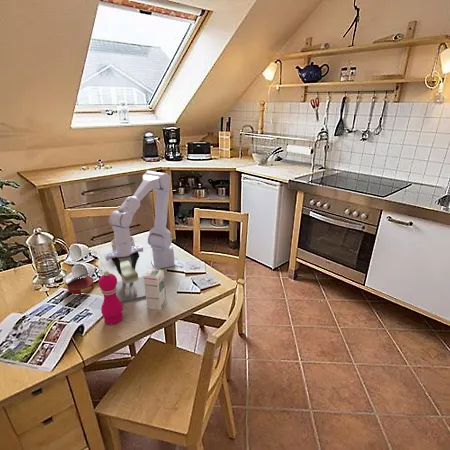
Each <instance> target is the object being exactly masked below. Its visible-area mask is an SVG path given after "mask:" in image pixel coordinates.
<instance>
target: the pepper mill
mask: <svg viewBox="0 0 450 450" xmlns="http://www.w3.org/2000/svg"><path fill="white" fill-rule="evenodd" d="M117 282H118V278H117V277H116V275H115V274H113V273H110V272H109V271H108V270H105V271H104V272H103V274H102V275H101V276H100V277H99V278H98V287H99V288H100V290H101V294H102V295H103V303H102V304H101V308H100V310H101V314H102V316H103V320H104V323H105V324H106V325H110V326H111V325H116V324H118V323H120V322H121V321H122V320H123V317H124V315H123V311H124V306H123V303H121V301H120V300H119V299H118V297H117V295H116V291H117V286H116V284H117Z"/></svg>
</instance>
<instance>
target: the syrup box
mask: <svg viewBox="0 0 450 450" xmlns="http://www.w3.org/2000/svg"><path fill="white" fill-rule="evenodd" d="M142 277H143V278H144V286H145V294H146V298H145V300H146V308H147V309H151V310H160V311H161V310H162V309H163V307H164V306H165V305H166V302H167V295H166V294H167V291H166V282H165V281H166V280H165V270H164V269H163V268H161V269H155V268H154V267H153V268H152V267H151V268H149V269H148V270H147V271H146V272H145V274H144V275H143V276H142Z"/></svg>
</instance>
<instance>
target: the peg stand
mask: <svg viewBox="0 0 450 450" xmlns="http://www.w3.org/2000/svg"><path fill="white" fill-rule="evenodd" d="M116 286H117V291H116V295H117V297H118V299H119V300H120V301H121V303H122V304H125V303H130V302H134V301H138V300H142V299H146V294H145V286H144V278H143V276H140V277H138V280H137V281H134V282H131V283H128V284H126V283H125V282H124V280H123V279H122V278H121V281H117V284H116Z"/></svg>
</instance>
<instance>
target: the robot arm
mask: <svg viewBox="0 0 450 450" xmlns="http://www.w3.org/2000/svg"><path fill="white" fill-rule="evenodd" d="M171 180H172V178H171V177H170V175H169V174H168V173H167V172H157V171H152V170H146V172H145V173H144V174H143V175H142V182H141V183H140V185H138V187H137V189H136V190H135V192H134V194H133V195H131V196H128V197H126V198H125V200H124V201H123V203H122V204H121V205H120V206H119V207H118V209H117V210H116V209H115V210H113V211H112V212H111V213H110V215H109V218H108V223H109V225H111V228H112V230H113V235H114V236H113V237H114V239H115V244H116V250H115V251H113V250H112V251H111V252H108V253H106V254H104V259H105V261H106V262H109V261H110V260H111V261H112V262H113V264H114V266H115V267H117V269H116V271H117V270H118V271H117V272H118V274H119V275H120V274H121V268H120V262H121V260H120V258H123V257H122V256H128V255H130V256H128V257H130V261H131V262H130V264H131V265H132V267H133V268H134V269H135V270H136V267H137V263H138V260H139V258H140V254H139V253H144V247H143V246H142V245H137V246H135V247H131V239H130V236H131V232H130V226H131V224H132V222H133V218H134V214H135V213H136V212H137V211H138V210H139V208H140V207H141V201H142V200H143V199H144V198H145V196H147V194H149V192H150V191H151V190H153V191H154V192H155V193H156V197H155V209H154V210H155V211H154V223H153V226H154V227H152V228H151V229H149V233H148V236H147V245H150V248H151V249H152V250H151V251H152V260H151V264H152V267H153V268H155V269H165V268H170V267H174V265H175V264H176V263H175V251H174V248H173V246H172V243H173V242H172V240H173V239H172V232H171V231H170V230H169V229H168V228H167V218H168V210H169V209H168V206H169V196H170V191H171Z"/></svg>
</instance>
